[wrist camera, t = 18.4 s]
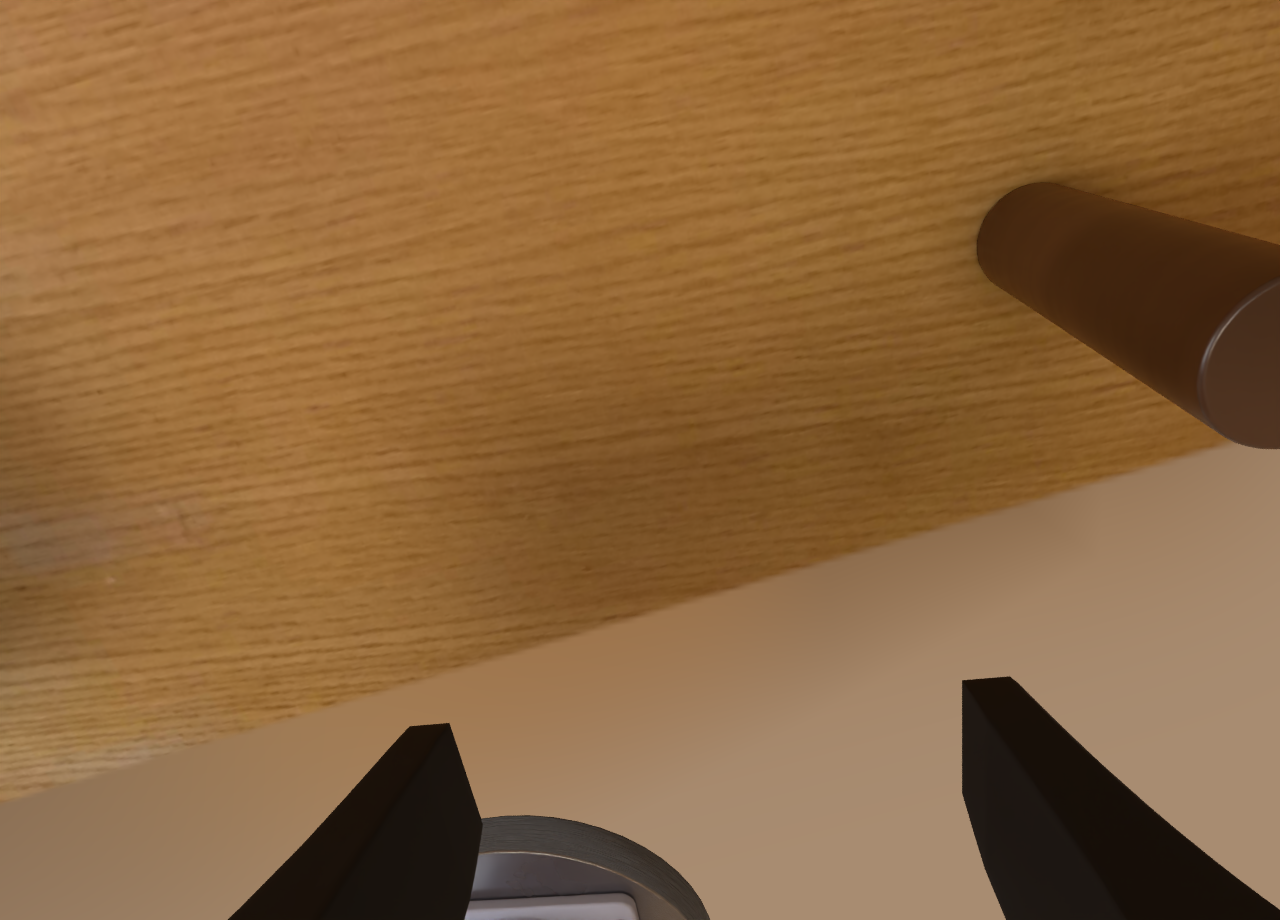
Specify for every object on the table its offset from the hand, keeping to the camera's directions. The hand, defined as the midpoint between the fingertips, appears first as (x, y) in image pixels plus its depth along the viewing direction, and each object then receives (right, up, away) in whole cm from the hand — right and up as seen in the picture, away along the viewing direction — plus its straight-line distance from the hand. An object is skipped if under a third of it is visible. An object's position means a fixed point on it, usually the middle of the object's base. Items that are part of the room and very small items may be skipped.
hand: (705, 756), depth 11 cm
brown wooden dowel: (+8, +9, +7) cm, 14 cm away
